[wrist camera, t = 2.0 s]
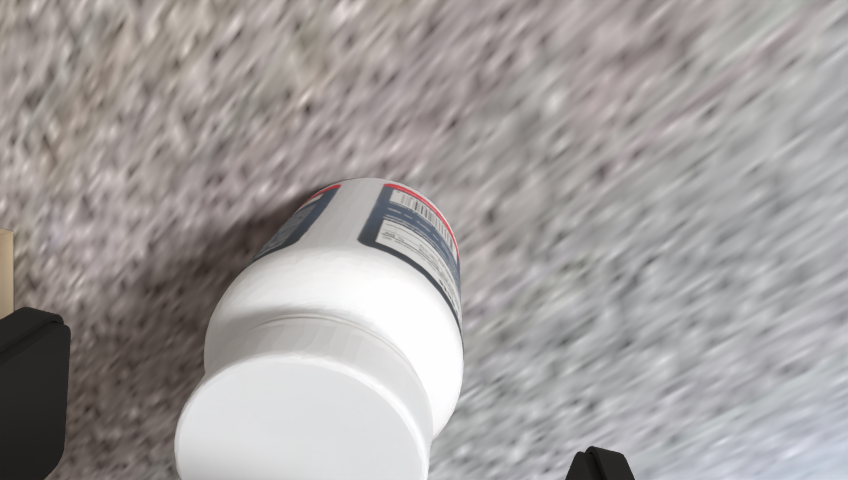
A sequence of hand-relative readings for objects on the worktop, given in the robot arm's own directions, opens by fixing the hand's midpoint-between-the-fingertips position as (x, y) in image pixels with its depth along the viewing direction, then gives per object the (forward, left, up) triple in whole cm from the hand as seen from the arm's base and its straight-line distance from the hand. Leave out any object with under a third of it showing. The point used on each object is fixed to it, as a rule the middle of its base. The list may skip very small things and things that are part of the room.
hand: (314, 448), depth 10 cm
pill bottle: (-1, 0, -8) cm, 8 cm away
